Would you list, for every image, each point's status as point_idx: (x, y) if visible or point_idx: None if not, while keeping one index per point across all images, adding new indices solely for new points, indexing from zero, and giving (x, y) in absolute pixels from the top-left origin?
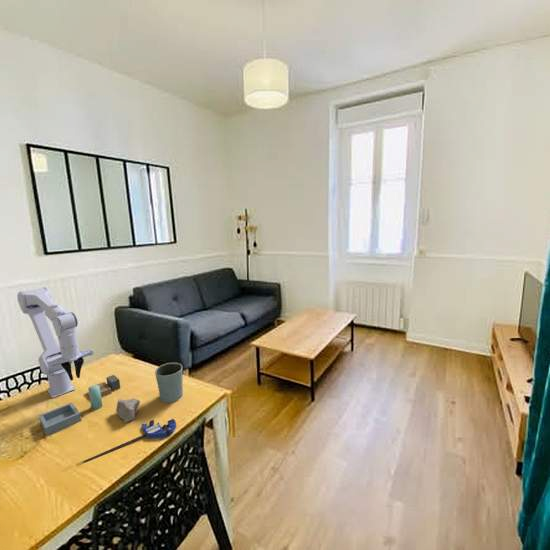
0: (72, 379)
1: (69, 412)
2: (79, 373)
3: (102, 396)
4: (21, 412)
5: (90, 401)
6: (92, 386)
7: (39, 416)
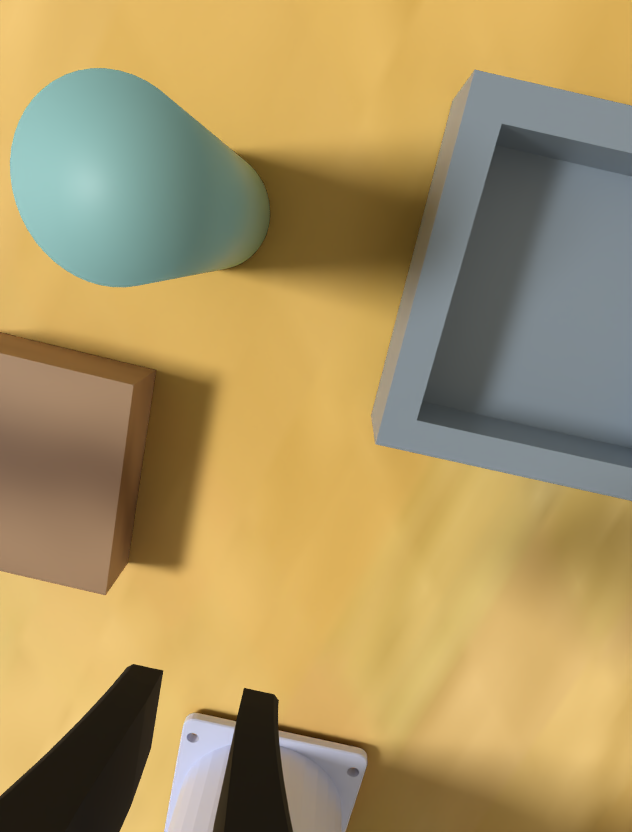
0: (253, 700)
1: (435, 368)
2: (87, 728)
3: (82, 355)
4: (603, 765)
5: (252, 218)
6: (106, 260)
7: None
